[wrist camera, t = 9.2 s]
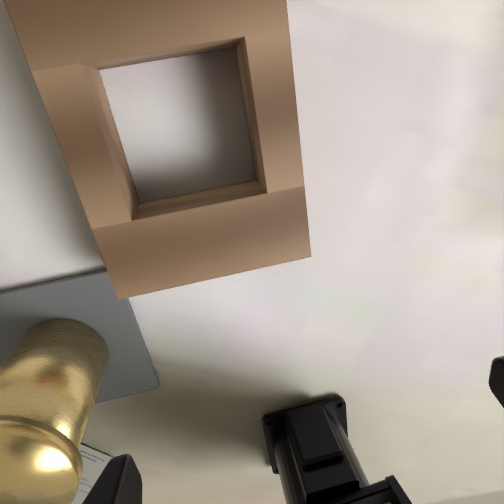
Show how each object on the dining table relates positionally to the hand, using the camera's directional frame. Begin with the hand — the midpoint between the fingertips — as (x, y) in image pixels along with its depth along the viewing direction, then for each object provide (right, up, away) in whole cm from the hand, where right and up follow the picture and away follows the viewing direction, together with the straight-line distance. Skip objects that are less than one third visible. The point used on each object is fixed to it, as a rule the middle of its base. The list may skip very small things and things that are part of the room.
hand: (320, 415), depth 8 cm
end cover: (-13, -2, +12) cm, 18 cm away
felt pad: (-13, -2, +13) cm, 18 cm away
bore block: (-5, +10, +9) cm, 14 cm away
